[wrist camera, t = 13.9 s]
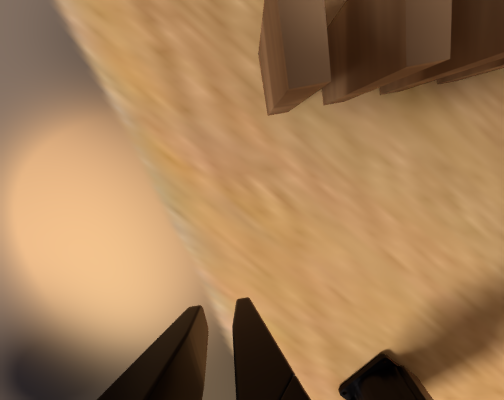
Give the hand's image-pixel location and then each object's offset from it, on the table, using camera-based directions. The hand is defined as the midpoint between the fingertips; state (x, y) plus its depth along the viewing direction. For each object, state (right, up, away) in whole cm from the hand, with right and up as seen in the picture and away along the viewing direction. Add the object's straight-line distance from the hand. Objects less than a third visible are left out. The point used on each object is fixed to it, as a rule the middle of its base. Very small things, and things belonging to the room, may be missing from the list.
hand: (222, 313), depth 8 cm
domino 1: (+3, +13, +10) cm, 16 cm away
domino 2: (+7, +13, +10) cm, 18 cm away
